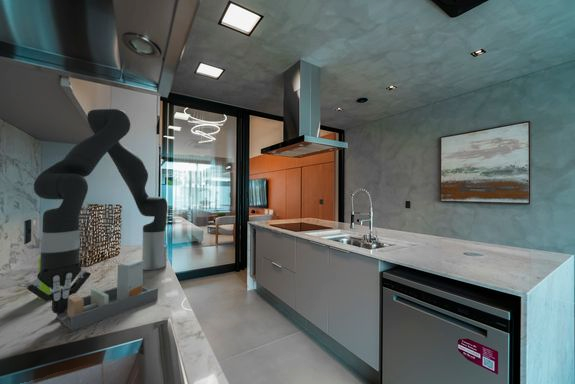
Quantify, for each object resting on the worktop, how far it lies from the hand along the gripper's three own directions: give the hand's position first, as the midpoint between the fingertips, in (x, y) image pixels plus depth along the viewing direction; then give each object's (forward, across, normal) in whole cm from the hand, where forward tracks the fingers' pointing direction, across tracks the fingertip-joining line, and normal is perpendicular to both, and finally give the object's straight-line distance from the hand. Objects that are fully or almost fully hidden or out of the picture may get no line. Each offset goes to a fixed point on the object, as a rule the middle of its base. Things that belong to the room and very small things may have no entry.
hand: (59, 312), depth 63 cm
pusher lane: (+3, -12, 0) cm, 12 cm away
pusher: (+2, -6, 0) cm, 6 cm away
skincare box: (+3, -17, 0) cm, 17 cm away
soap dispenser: (+4, -4, -26) cm, 26 cm away
